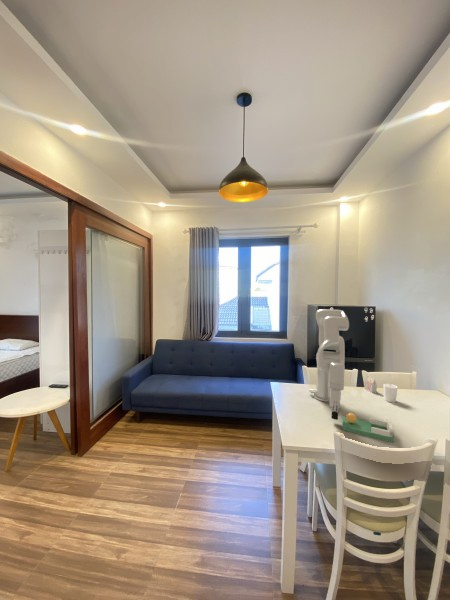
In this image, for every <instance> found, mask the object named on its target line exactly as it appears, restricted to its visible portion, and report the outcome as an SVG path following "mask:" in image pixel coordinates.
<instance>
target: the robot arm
mask: <svg viewBox="0 0 450 600" xmlns="http://www.w3.org/2000/svg"><path fill="white" fill-rule="evenodd" d="M315 320H316V323H317V326H318V346H319V347H318V350H317V352H316V355H315V356H316V357H315V359H316V388H315V389H312V388H309V393H311V394H313V398H314V399H316V400H318V401H319V402H327V403H329V408H331V419H333V420H336V421H337V420H339V409H340V406H341V399H342V391H344V389H345V369H346V368H345V362H346V361H345V359H346V358H345V357H346V355H345V353H346V351H345V347H346V346H345V345H346V344H345V340H344V337H343V336H341V335H340V331H345V332H346V331H348V330H349V328H350V321H349V318H348V316H347V314H346V313H345V311H344V310H343V309H342V310H341V309H329V308H327V309H326V308H323V309H322V308H321V309H318V310H316V312H315ZM327 350H332V351H327Z"/></svg>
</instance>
